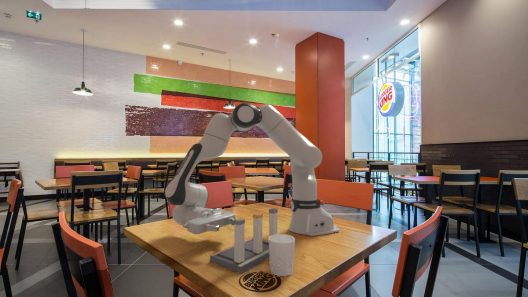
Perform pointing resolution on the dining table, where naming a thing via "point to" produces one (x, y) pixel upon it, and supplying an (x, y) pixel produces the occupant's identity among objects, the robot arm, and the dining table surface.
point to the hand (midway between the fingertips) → (227, 225)
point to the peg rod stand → (244, 248)
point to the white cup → (281, 254)
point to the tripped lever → (257, 232)
